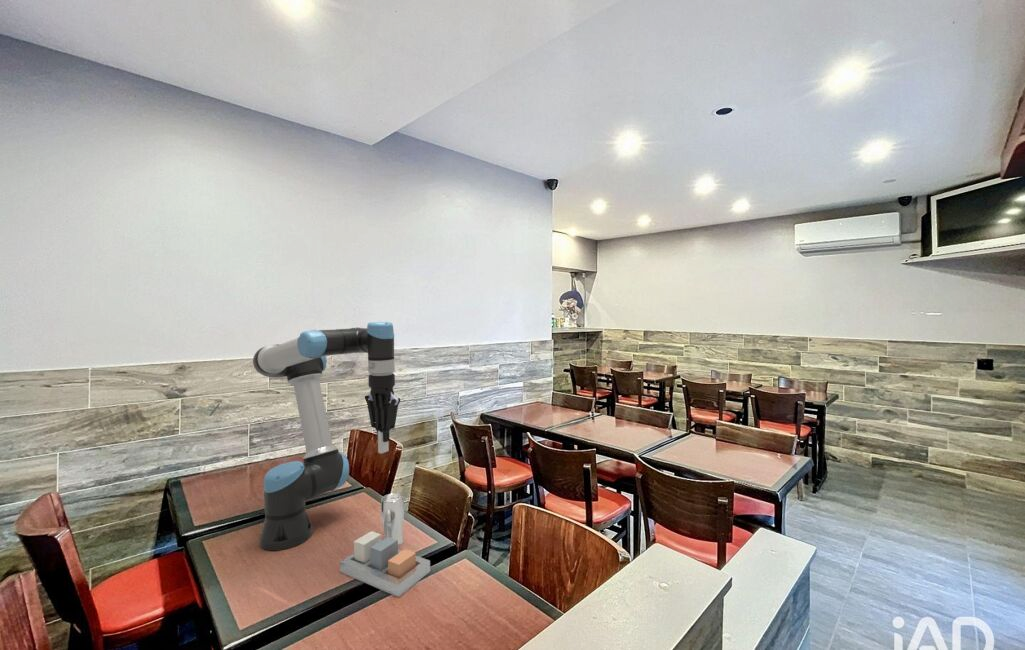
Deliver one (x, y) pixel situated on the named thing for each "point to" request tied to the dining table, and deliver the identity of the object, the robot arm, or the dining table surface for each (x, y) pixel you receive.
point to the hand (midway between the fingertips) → (383, 451)
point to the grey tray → (384, 574)
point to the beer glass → (393, 516)
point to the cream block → (365, 546)
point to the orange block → (402, 563)
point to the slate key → (383, 552)
